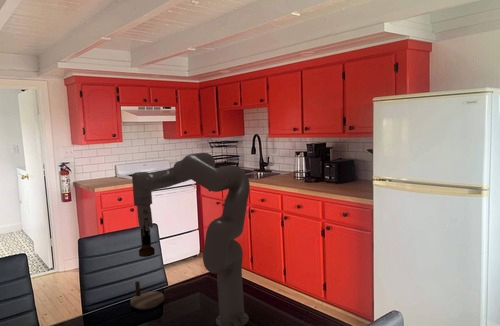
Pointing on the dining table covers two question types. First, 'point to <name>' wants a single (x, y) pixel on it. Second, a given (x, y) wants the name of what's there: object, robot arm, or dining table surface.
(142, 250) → the wooden pepper mill
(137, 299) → the disc
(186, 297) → the dining table surface
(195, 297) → the dining table surface
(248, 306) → the dining table surface
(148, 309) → the turntable base
